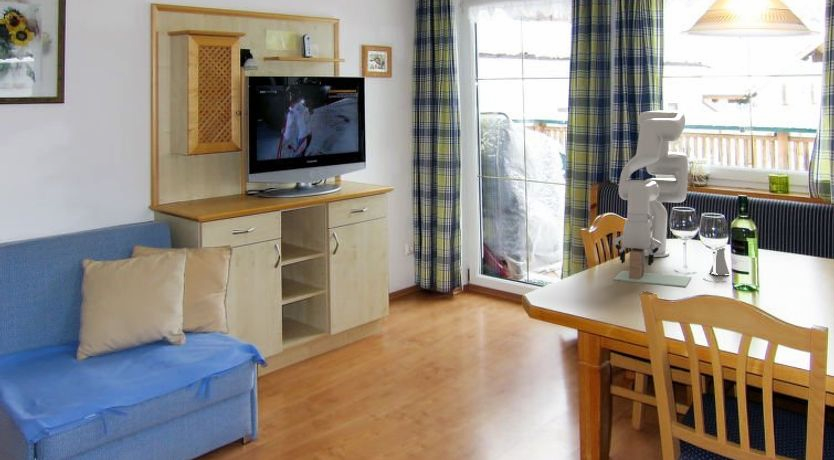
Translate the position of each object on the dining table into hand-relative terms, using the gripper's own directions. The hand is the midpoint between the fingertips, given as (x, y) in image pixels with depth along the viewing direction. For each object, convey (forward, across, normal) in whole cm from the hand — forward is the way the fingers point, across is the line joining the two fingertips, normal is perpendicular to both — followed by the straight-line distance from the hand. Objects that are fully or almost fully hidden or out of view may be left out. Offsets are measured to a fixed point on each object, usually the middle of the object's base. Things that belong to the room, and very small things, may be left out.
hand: (636, 263), depth 279 cm
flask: (+6, -27, -17) cm, 32 cm away
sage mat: (+5, -6, 0) cm, 8 cm away
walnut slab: (+5, 0, 0) cm, 5 cm away
